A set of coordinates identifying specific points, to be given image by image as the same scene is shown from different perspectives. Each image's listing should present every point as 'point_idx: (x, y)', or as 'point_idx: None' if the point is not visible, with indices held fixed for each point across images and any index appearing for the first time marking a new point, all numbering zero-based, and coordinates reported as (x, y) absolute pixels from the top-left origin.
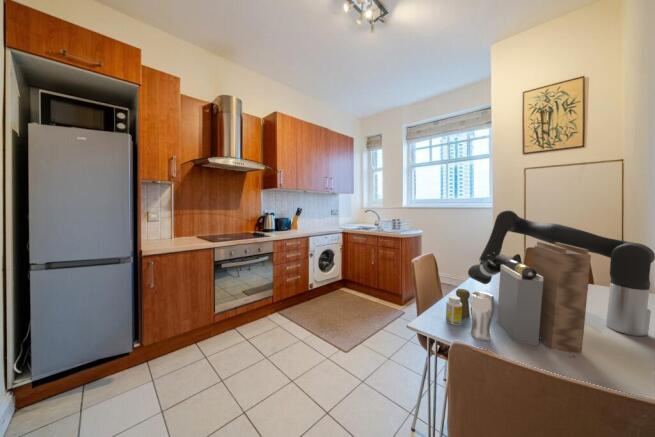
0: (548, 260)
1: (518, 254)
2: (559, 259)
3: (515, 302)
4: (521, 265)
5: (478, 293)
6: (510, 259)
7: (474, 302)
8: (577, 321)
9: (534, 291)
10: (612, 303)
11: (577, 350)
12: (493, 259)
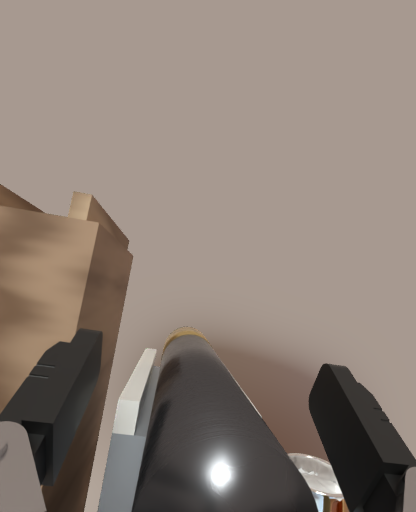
0: (116, 290)
1: (91, 331)
2: (128, 275)
3: None
4: (201, 335)
5: (336, 501)
6: (210, 354)
7: (334, 491)
8: None
9: None
10: None
11: None
12: (334, 473)
